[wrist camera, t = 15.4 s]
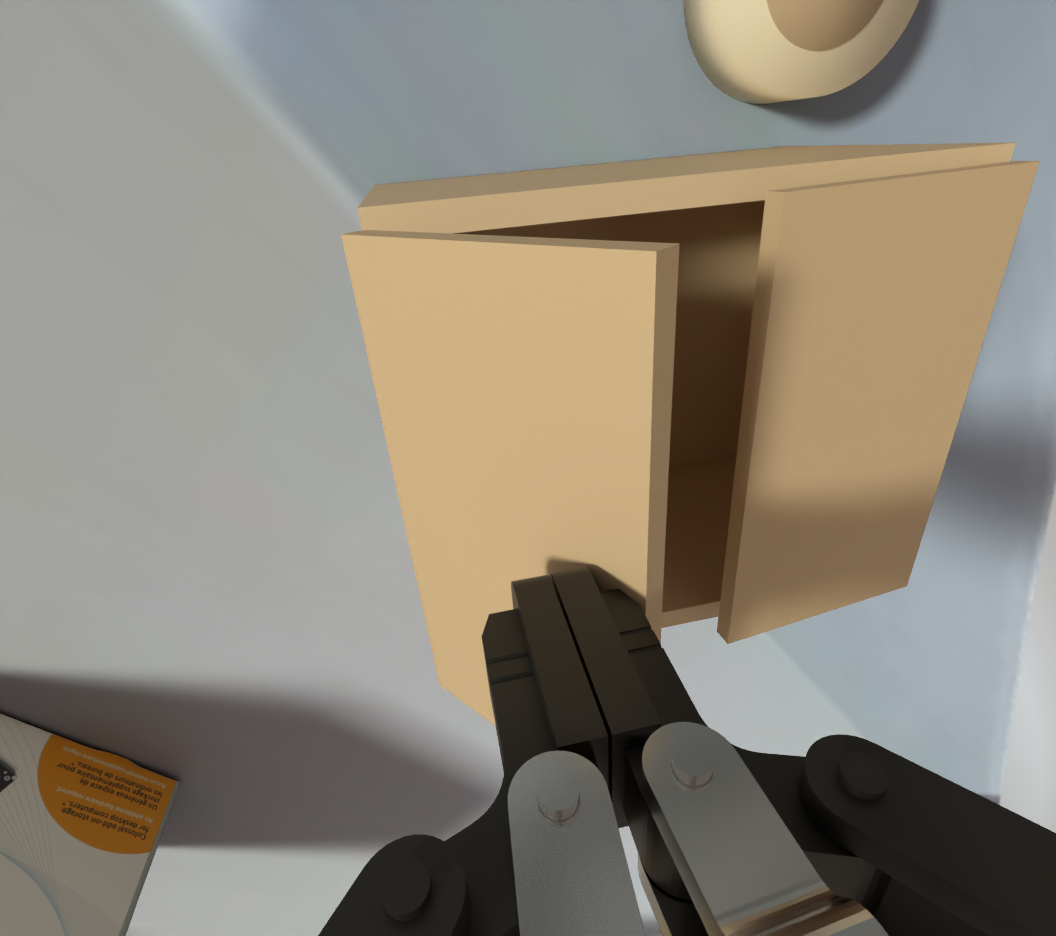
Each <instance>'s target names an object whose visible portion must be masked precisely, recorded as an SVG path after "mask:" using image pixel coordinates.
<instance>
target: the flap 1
mask: <svg viewBox="0 0 1056 936" xmlns="http://www.w3.org/2000/svg"><path fill="white" fill-rule="evenodd" d="M341 236H342V240H343V245H344V250H345V254H346V259H347V263H348V268H349V273H350V277H351V282H352V286H353V291H354V295H355V300H356V305H357V309H358V314H359V318H360V323H361V327H362V332H363V337H364V341H365V346H366V350H367V355H368V359H369V364H370V369H371V373H372V378H373V382H374V387H375V392H376V396H377V401H378V405H379V410H380V414H381V419H382V424H383V428H384V433H385V437H386V442H387V446H388V451H389V456H390V460H391V465H392V469H393V474H394V478H395V483H396V488H397V492H398V497H399V501H400V506H401V511H402V515H403V520H404V524H405V529H406V533H407V538H408V543H409V547H410V552H411V556H412V561H413V565H414V570H415V575H416V579H417V584H418V588H419V593H420V597H421V602H422V607H423V611H424V616H425V620H426V625H427V630H428V634H429V639H430V643H431V648H432V652H433V657H434V662H435V666H436V671H437V675H438V680H439V684H440V685H441V686H442V687H444V688H445V689H446V690H448V691H449V692H450V693H452V694H453V695H454V696H456V697H457V698H458V699H460V700H461V701H462V702H464V703H465V704H466V705H468V706H469V707H470V708H472V709H473V710H474V711H476V712H477V713H478V714H480V715H481V716H482V717H484V718H485V719H486V720H488V721H489V722H490V723H492V724H493V725H494V726H496V725H495V719H494V713H493V708H492V702H491V696H490V690H489V683H488V677H487V670H486V663H485V657H484V650H483V643H482V634H483V631H484V628H485V625H486V622H487V619H488V616H489V614H492V613H497V612H502V611H507V610H513V602H512V592H511V581H516V580H522V579H527V578H532V577H538V576H543V575H549V576H550V574H553V573H558V572H563V571H569V570H574V569H580V568H585V567H587V568H588V569H589V570H590V572H591V574H592V576H593V578H594V580H595V583H596V585H597V587H598V589H599V591H600V592H605V591H610V590H615V589H620V590H622V591H623V592H624V593H625V594H627V595H628V596H629V597H630V598H632V599H633V600H634V601H635V602H637V603H638V604H639V605H640V606H641V608H642V610H643V612H644V614H645V616H646V618H647V619H648V621H649V623H650V625H651V629H652V630H654V632H655V634H656V636H657V638H658V640H659V642H661V621H662V600H663V579H664V558H665V537H666V516H667V495H668V474H669V453H670V432H671V411H672V390H673V369H674V348H675V327H676V306H677V285H678V264H679V243H656V242H633V241H610V240H587V239H564V238H541V237H518V236H495V235H472V234H449V233H425V232H402V231H379V230H363V231H357V232H352V233H347V234H341Z"/></svg>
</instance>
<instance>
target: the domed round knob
mask: <svg viewBox="0 0 1056 936" xmlns="http://www.w3.org/2000/svg"><path fill="white" fill-rule="evenodd" d="M918 2H919V0H684V15H685V25H686V29H687V34H688V38H689V42H690V45H691V48H692V51H693V54H694V56H695V58H696V60H697V62H698V64H699V66H700V67H701V69H702V70H703V72H704V73H705V75H706V76H707V78H708V79H709V80H710V81H711V82H712V83H713V84H714V85H715V86H716V87H717V88H718V89H720V90H721V91H722V92H723V93H725V94H727V95H728V96H730V97H732V98H734V99H737V100H739V101H742V102H746V103H752V104H768V103H776V102H783V101H791V100H798V99H806V98H813V97H819V96H825V95H828V94H831V93H834V92H837V91H840V90H842V89H844V88H846V87H848V86H850V85H852V84H853V83H855V82H856V81H858V80H859V79H861V78H862V77H863V76H865V75H866V74H867V73H868V72H869V71H871V70H872V69H873V68H874V67H875V66H876V65H877V64H878V63H879V62H880V61H881V60H882V59H883V58H884V57H885V56H886V55H887V53H888V52H889V51H890V50H891V48H892V47H893V46H894V45H895V43H896V42H897V40H898V39H899V37H900V36H901V34H902V33H903V31H904V30H905V28H906V26H907V25H908V23H909V21H910V19H911V17H912V15H913V13H914V12H915V9H916V7H917V5H918Z"/></svg>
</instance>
